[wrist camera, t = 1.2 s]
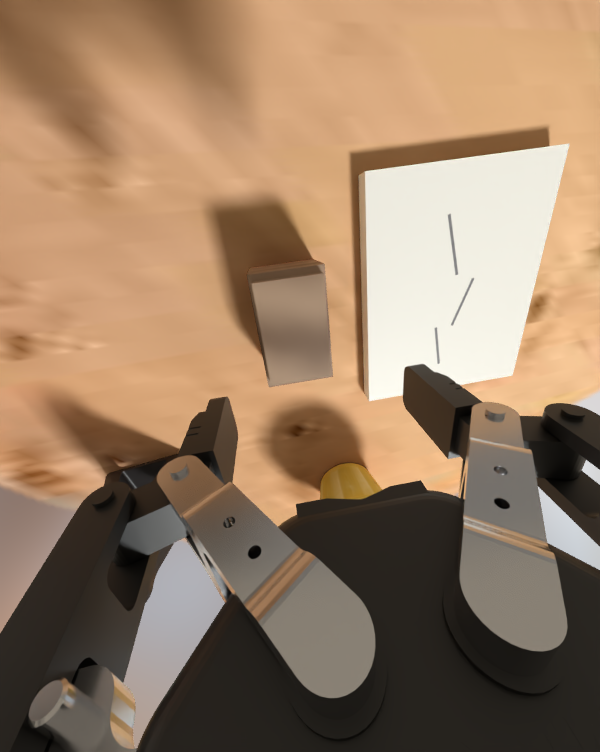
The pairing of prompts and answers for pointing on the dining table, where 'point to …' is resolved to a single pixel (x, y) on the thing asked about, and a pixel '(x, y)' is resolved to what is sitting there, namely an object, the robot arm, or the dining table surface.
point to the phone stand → (136, 479)
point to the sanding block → (292, 320)
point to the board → (452, 263)
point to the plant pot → (348, 482)
